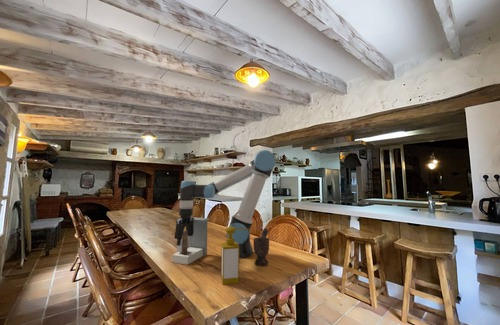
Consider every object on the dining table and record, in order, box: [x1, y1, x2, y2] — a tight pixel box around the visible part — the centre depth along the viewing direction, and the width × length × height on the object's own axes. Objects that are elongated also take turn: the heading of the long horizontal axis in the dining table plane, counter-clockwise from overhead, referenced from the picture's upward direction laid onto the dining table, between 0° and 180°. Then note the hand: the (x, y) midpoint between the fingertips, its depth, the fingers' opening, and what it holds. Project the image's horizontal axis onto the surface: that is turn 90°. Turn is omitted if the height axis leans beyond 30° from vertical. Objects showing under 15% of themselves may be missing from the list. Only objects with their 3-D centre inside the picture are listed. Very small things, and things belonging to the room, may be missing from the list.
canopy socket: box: [171, 216, 210, 266], centre depth 125 cm, size 14×18×22 cm
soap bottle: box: [220, 226, 251, 285], centre depth 98 cm, size 7×13×24 cm, turn 102°
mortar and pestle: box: [253, 228, 270, 267], centre depth 115 cm, size 12×9×20 cm
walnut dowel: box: [180, 230, 188, 255], centre depth 120 cm, size 4×4×16 cm
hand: (183, 249), depth 120 cm, fingers open, 7 cm apart
